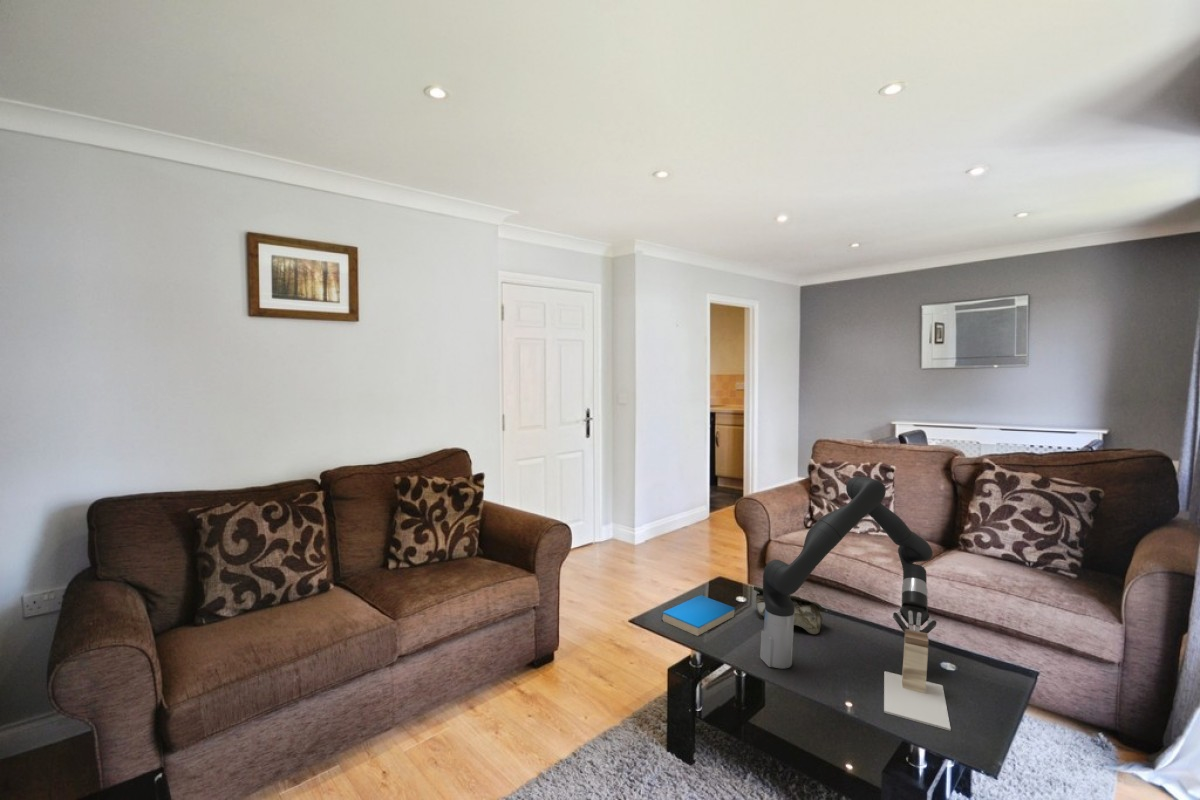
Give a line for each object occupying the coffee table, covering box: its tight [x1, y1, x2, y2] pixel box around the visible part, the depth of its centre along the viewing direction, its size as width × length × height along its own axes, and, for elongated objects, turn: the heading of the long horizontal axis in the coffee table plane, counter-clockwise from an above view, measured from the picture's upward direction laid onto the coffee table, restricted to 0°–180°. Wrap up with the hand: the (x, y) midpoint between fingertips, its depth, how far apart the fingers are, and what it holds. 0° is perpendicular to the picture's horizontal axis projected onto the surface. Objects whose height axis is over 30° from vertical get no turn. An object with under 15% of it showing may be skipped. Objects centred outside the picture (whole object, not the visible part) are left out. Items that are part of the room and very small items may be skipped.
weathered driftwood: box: [753, 585, 828, 635], centre depth 211 cm, size 28×13×15 cm
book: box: [661, 594, 736, 637], centre depth 213 cm, size 17×4×25 cm
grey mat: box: [883, 671, 952, 732], centre depth 163 cm, size 24×16×1 cm, turn 153°
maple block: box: [901, 629, 929, 693], centre depth 169 cm, size 6×6×16 cm
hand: (914, 646), depth 175 cm, fingers closed
